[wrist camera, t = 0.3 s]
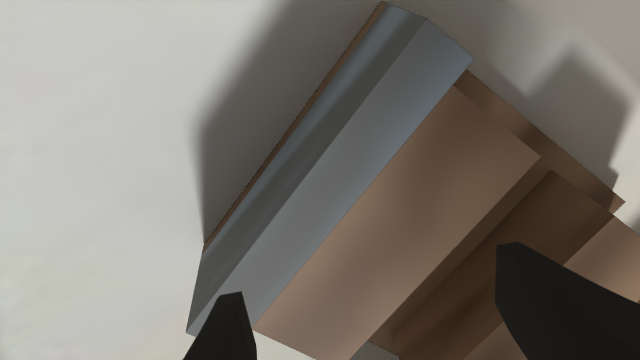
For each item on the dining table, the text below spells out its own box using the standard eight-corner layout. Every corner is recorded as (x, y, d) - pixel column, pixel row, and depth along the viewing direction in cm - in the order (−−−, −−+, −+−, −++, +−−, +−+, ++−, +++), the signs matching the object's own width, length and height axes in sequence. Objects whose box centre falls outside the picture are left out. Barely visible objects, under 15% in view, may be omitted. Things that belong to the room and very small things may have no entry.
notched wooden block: (612, 192, 24) (710, 259, 19) (435, 364, 29) (475, 458, 23) (381, 1, 19) (427, 18, 14) (203, 245, 23) (185, 332, 18)
